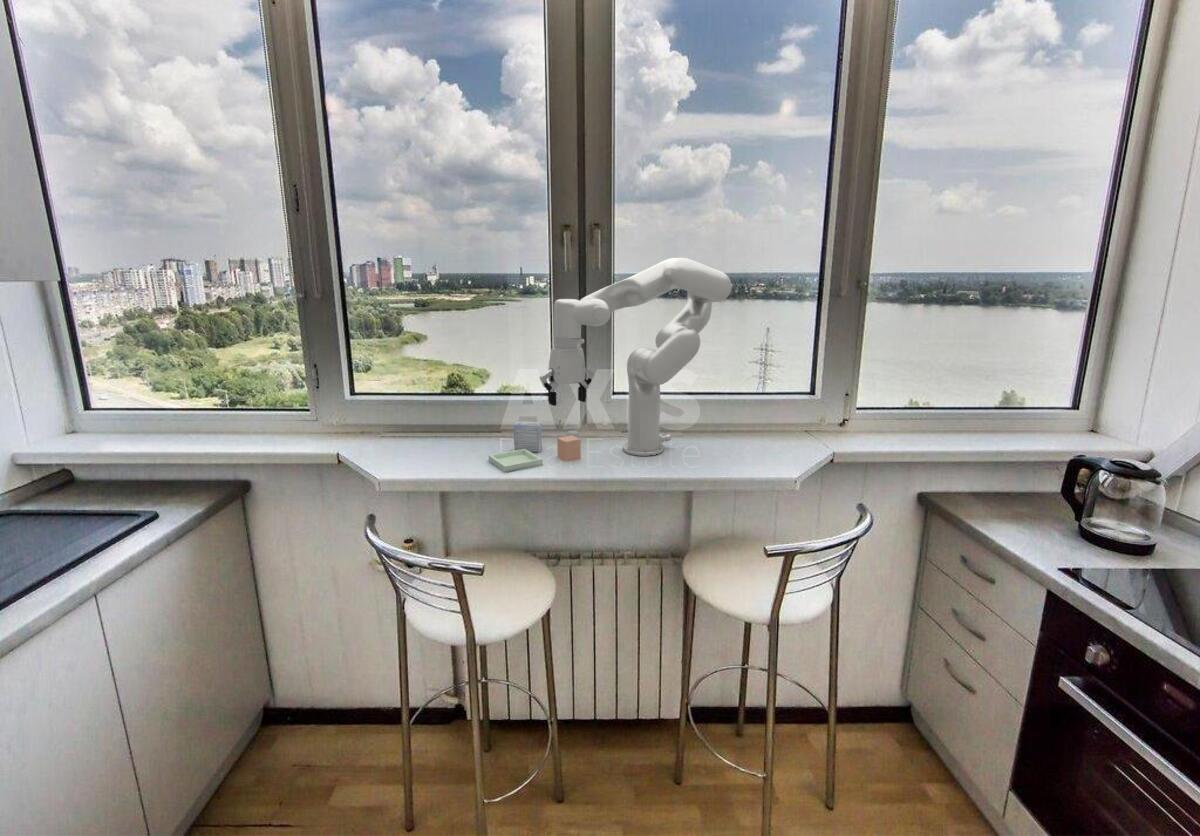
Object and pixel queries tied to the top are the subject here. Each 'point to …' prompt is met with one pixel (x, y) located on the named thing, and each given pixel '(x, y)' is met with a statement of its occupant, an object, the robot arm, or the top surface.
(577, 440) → the terracotta block
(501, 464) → the tray
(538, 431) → the medicine box
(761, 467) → the top surface
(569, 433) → the grey tub
